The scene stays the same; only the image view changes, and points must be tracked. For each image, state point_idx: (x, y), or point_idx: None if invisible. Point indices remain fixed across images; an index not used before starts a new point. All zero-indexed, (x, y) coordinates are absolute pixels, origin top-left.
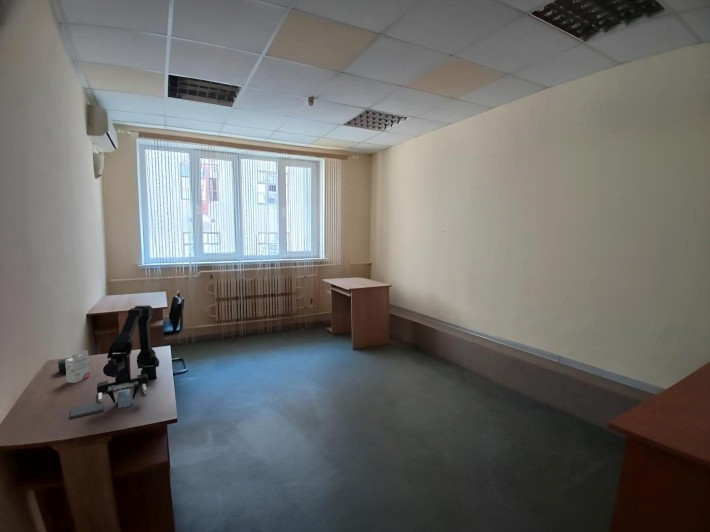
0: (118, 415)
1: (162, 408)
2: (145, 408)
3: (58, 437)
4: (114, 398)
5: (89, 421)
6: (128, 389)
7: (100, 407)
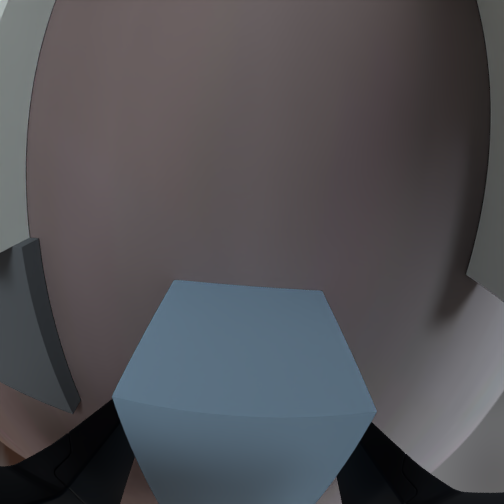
0: None
1: None
2: None
3: (14, 449)
4: (128, 475)
5: None
6: (348, 438)
7: (40, 373)
